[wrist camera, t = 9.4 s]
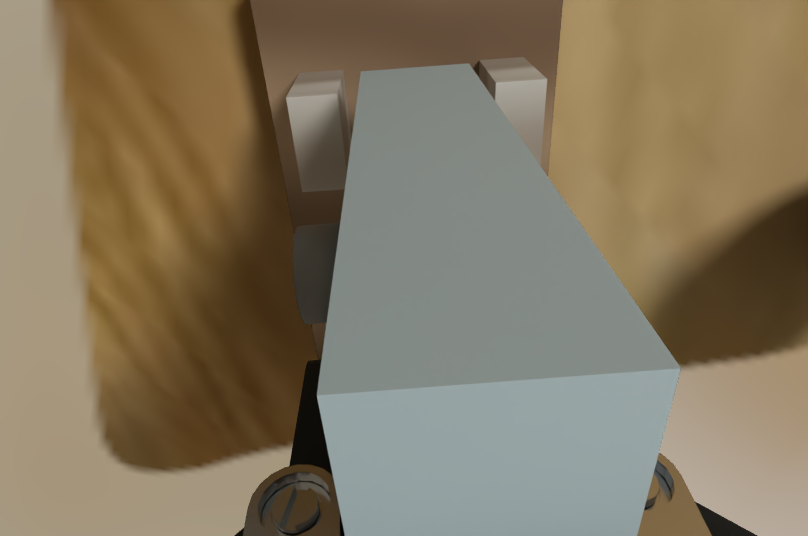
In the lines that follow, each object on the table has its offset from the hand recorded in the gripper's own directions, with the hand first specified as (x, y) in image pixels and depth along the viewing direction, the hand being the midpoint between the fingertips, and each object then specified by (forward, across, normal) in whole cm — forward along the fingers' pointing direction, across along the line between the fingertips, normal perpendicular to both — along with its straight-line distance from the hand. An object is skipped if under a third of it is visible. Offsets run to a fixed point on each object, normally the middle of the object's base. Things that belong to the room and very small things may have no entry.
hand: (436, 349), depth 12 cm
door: (+4, 0, 0) cm, 4 cm away
